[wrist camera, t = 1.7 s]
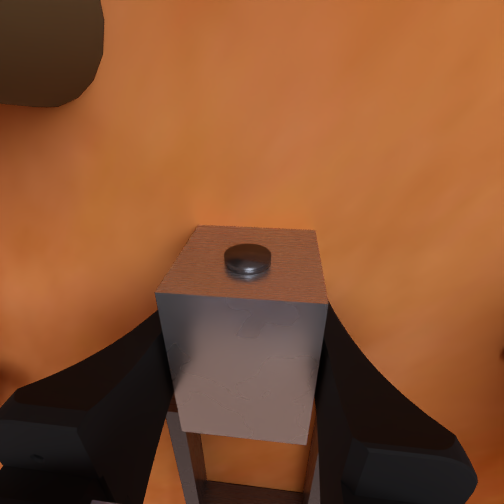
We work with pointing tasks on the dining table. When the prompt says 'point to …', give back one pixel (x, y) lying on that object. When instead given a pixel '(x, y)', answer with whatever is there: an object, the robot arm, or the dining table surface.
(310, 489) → the channel bracket
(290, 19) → the dining table surface
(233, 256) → the block
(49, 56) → the olive pawn piece
